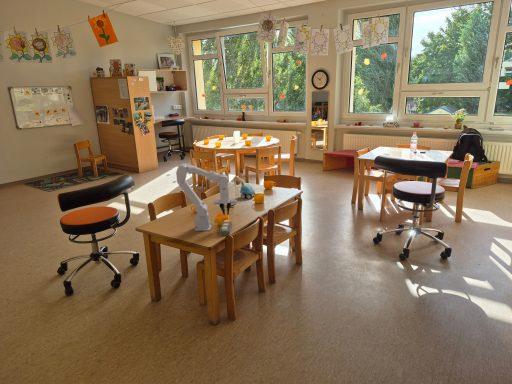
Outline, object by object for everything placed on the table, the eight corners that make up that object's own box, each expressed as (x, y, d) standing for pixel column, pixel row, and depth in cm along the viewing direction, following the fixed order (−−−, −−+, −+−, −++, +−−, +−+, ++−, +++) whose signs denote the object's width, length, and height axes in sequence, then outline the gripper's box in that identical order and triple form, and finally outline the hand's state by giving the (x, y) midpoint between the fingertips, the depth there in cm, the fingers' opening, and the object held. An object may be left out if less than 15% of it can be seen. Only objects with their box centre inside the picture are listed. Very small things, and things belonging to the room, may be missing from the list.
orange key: (224, 225, 221) (224, 221, 221) (224, 223, 224) (224, 220, 223) (229, 225, 221) (228, 221, 220) (229, 223, 224) (229, 219, 223)
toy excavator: (238, 194, 288) (237, 174, 283) (256, 196, 281) (255, 175, 275) (233, 197, 280) (232, 177, 275) (251, 199, 273) (250, 178, 268)
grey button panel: (219, 235, 211) (219, 231, 210) (222, 225, 225) (222, 221, 225) (229, 235, 210) (229, 231, 210) (232, 225, 225) (231, 221, 224)
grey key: (223, 228, 216) (223, 225, 215) (223, 226, 219) (223, 223, 218) (228, 228, 216) (227, 225, 215) (228, 226, 219) (228, 223, 218)
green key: (222, 232, 211) (221, 228, 210) (222, 230, 214) (222, 226, 213) (227, 232, 211) (226, 228, 210) (227, 230, 213) (227, 226, 213)
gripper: (236, 191, 220) (238, 211, 224) (214, 192, 221) (215, 212, 225) (235, 195, 213) (237, 215, 217) (212, 196, 214) (214, 216, 218)
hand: (226, 214), depth 221 cm, fingers closed
